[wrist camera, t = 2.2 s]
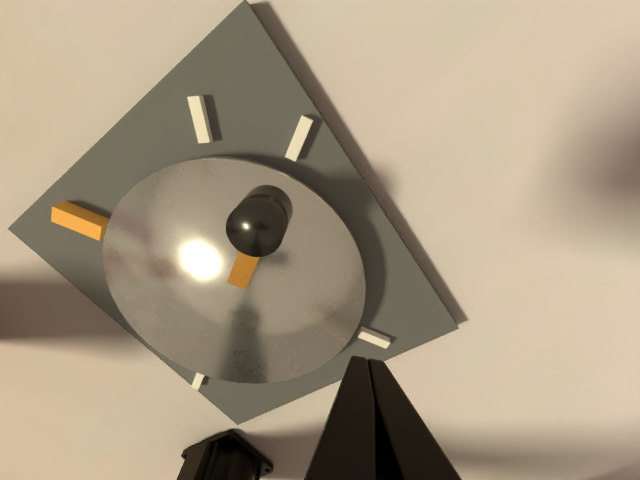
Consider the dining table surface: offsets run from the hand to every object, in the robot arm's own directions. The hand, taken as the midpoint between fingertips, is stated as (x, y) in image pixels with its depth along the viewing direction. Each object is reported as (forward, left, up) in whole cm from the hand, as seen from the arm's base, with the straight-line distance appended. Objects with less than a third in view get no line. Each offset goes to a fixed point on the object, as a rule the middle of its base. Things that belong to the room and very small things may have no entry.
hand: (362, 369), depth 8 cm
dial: (0, +8, -11) cm, 14 cm away
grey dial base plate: (0, +8, -12) cm, 14 cm away
